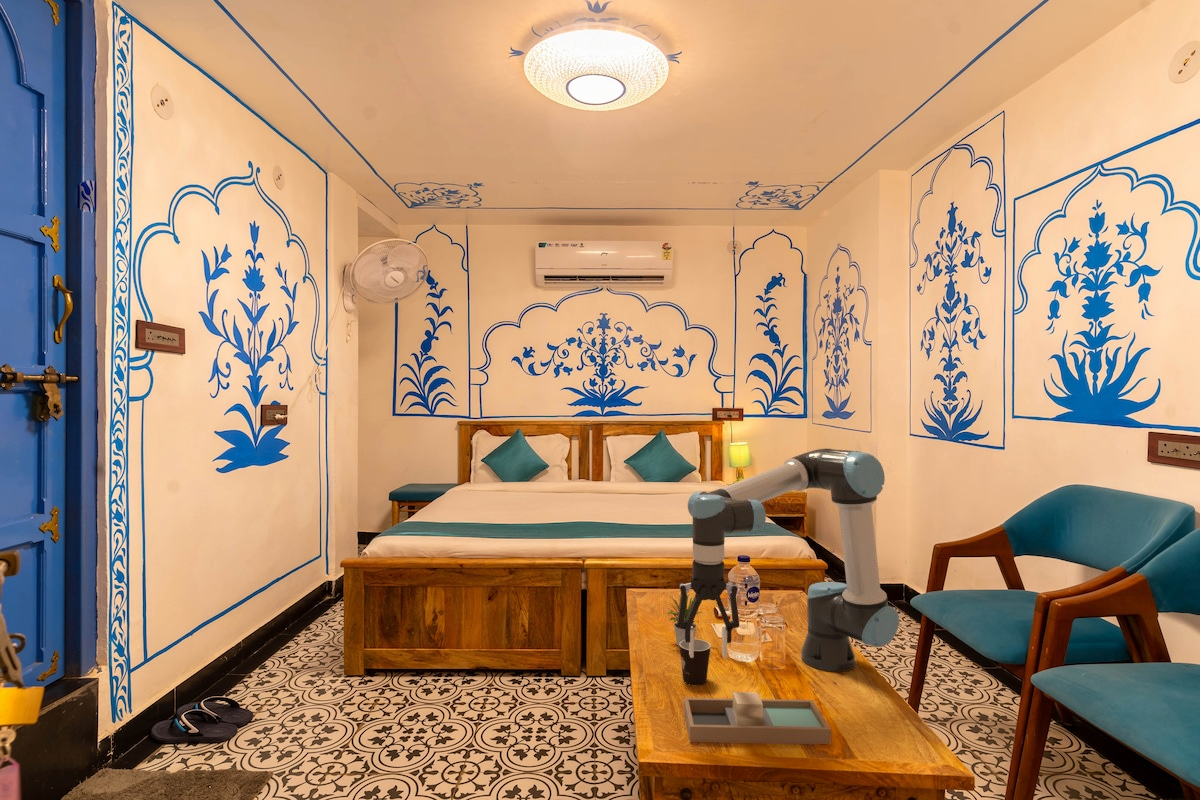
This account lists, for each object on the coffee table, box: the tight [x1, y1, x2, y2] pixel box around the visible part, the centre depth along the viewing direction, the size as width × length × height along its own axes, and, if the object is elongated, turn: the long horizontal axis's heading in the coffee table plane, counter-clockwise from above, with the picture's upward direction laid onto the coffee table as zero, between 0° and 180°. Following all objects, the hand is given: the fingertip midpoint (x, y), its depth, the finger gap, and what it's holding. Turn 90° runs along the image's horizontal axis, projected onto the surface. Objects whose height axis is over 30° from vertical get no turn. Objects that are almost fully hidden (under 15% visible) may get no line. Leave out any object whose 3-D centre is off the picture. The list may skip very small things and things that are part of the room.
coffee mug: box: [678, 638, 711, 686], centre depth 180 cm, size 12×9×10 cm
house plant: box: [664, 593, 704, 648], centre depth 205 cm, size 14×14×16 cm
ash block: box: [732, 691, 763, 726], centre depth 154 cm, size 6×6×5 cm
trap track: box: [683, 697, 832, 745], centre depth 154 cm, size 32×14×4 cm, turn 88°
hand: (707, 655), depth 154 cm, fingers open, 7 cm apart
